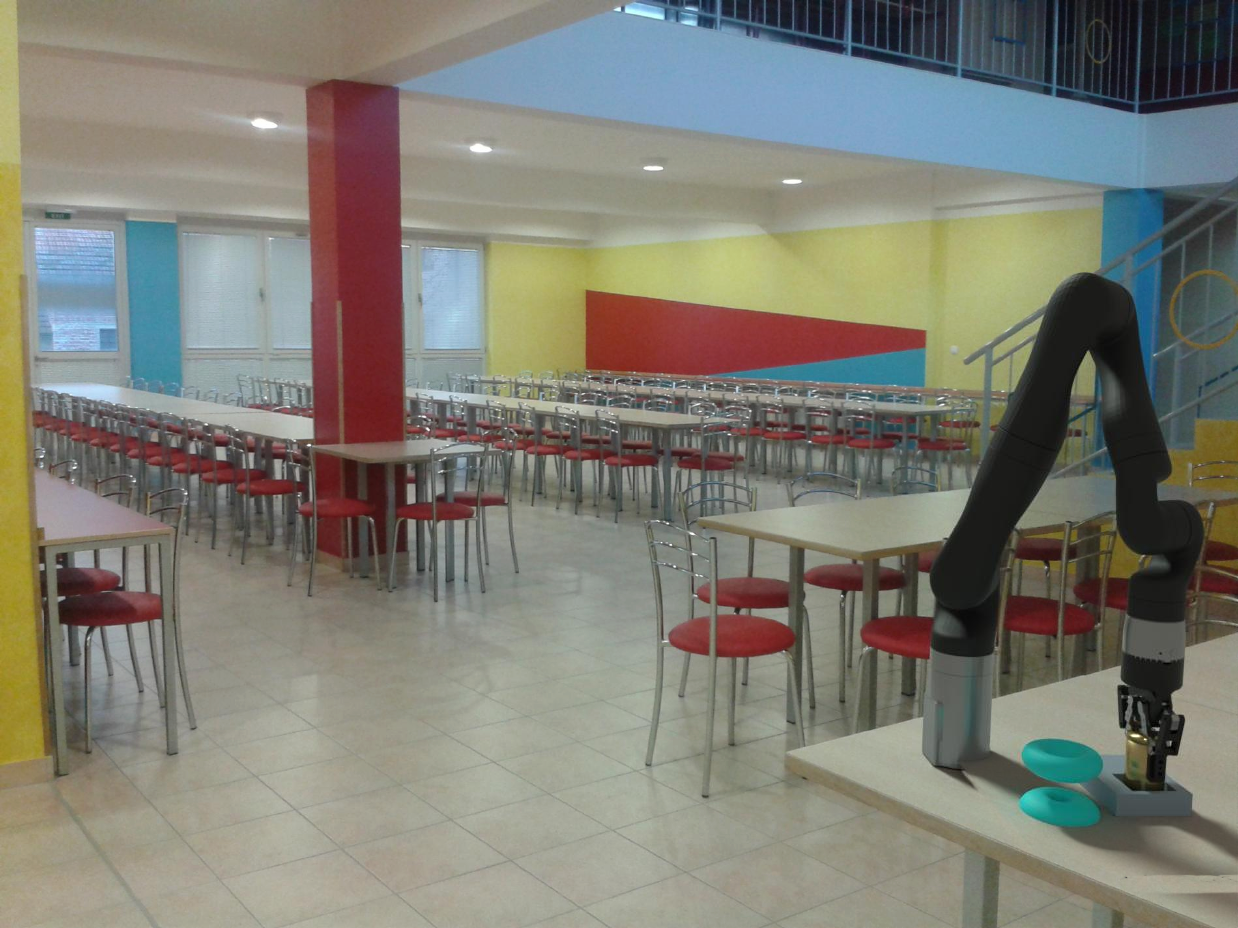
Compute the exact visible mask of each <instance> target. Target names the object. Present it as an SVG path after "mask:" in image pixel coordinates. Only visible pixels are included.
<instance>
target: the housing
mask: <svg viewBox="0 0 1238 928" xmlns="http://www.w3.org/2000/svg"><path fill="white" fill-rule="evenodd" d="M1099 755H1100V756H1101V758H1102V760H1103V769H1102V772H1101V773H1100V774H1099V775H1098V776H1097V777H1096V778H1095V779H1093V780H1091V781H1088V782H1083V783H1078V784H1079V785H1080V786H1081V787H1082V788H1083V789H1085V791H1087V792H1088V793H1089V794H1091V796H1092V797H1093V798H1095V799H1096V800H1097V801H1098V802H1099V803H1100V804H1101V805H1102V806H1104V808H1105V809H1107V810H1108V811H1109V812H1110V813H1111V814H1112V815H1114V816H1115V817H1117V818H1119V817H1123V818H1125V817H1126V818H1127V817H1134V818H1135V817H1146V818H1147V817H1151V818H1152V817H1154V818H1156V817H1162V818H1163V817H1165V818H1166V817H1170V818H1171V817H1172V818H1173V817H1176V818H1177V817H1178V818H1179V817H1181V818H1182V817H1184V818H1185V817H1188V818H1189V817H1192V810H1193V800H1194V799H1193V797H1194V794H1193V793H1192V792H1191V791H1189V790H1188V789H1186V788H1185V787H1184V786H1183V785H1181V784H1180V783H1179V782H1177V781H1176V780H1174V779H1173V778H1172V777H1170V776H1169V775H1168V774H1166V777H1165V791H1132V790H1130V789H1129V788H1128V787H1127V786H1126V785H1124V768H1125V754H1099Z"/></svg>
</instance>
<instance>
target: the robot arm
mask: <svg viewBox="0 0 1238 928" xmlns="http://www.w3.org/2000/svg"><path fill="white" fill-rule="evenodd" d="M1038 328H1039V329H1038V330H1037V331H1038V332H1037V334H1036V337H1035V341H1034V344H1033V346H1032V348H1031V352H1030V355H1029V356H1028V360H1027V362H1026V364H1025V367H1024V369H1023V371H1022V373H1021V375H1020V377H1019V380H1018V382H1017V384H1016V386H1015V388H1014V391H1013V393H1012V395H1011V397H1010V399H1009V402H1008V404H1007V407H1006V409H1005V410H1004V412H1003V415H1002V416H1001V418H1000V420H999V422H998V423H997V427H996V428H995V430H994V433H993V435H992V437H991V438H990V439H991V440H990V441H989V443H988V444H987V445H988V446H987V448H986V450H985V452H984V455H983V458H982V460H981V463H980V465H979V468H978V470H977V473H976V476H975V478H974V480H973V484H972V486H971V489H970V492H969V495H968V499H967V501H966V504H965V506H964V509H963V511H962V512H961V515H960V517H959V519H958V521H957V522H956V524H955V525H954V528H953V529H952V531H951V533H950V535H949V537H948V538H947V540H946V541H945V543H944V545H943V546H942V547H941V549H940V551H939V553H938V554H937V555H936V557H935V558H934V560H933V561H932V564H931V566H930V569H929V576H928V577H929V586H930V589H931V592H932V594H933V595H934V597H935V599H936V601H935V602H936V604H935V613H934V618H933V621H932V626H931V628H930V629H931V630H930V643H929V645H930V646H929V666H928V668H929V671H928V691H925V692H924V693H923V715H922V739H921V741H922V743H921V752H922V754H923V755H924V756H925V758H927V760H928V762H930V764H931V765H933V766H934V767H935V766H937V767H940V766H941V767H945V768H949V769H955V770H956V769H957V770H965V768H964V767H963V765H961V764H960V762H976V761H977V762H978V761H982V760H984V759H985V760H986V759H988V757H989V756H990V752H991V728H992V727H991V724H992V709H993V708H992V706H993V700H992V699H993V683H994V680H993V679H994V665H995V664H994V659H995V642H996V641H995V640H996V635H997V631H998V625H999V624H998V623H999V609H1000V607H999V606H1000V595H1001V594H1000V593H1001V592H1000V591H1001V569H1000V564H999V563H1000V561H1001V558H1002V556H1003V552H1004V550H1005V547H1006V545H1007V543H1008V541H1009V538H1010V536H1011V534H1012V533H1013V531H1014V529H1015V527H1016V526H1017V524H1018V523H1019V521H1020V520H1021V518H1022V517H1023V516H1024V514H1025V512H1026V511H1028V508H1029V507H1030V506H1031V504H1032V503H1033V501H1034V500H1035V498H1036V496H1037V495H1038V494H1039V492H1040V490H1042V487H1043V485H1044V484H1045V482H1046V481H1047V478H1048V476H1049V475H1050V473H1051V471H1052V469H1053V466H1054V465H1055V463H1056V461H1057V458H1058V456H1059V455H1060V452H1061V450H1062V448H1063V446H1064V444H1065V440H1066V437H1067V433H1068V428H1069V422H1070V421H1069V420H1070V413H1071V412H1070V411H1071V410H1070V409H1071V408H1070V407H1071V396H1072V390H1073V385H1074V381H1075V379H1076V376H1077V373H1078V371H1079V370H1080V367H1081V364H1082V363H1083V361H1084V359H1085V357H1086V355H1087V353H1088V352H1089V354H1090V357H1091V358H1092V360H1093V363H1094V365H1095V367H1096V371H1097V374H1098V378H1099V383H1100V384H1099V385H1100V389H1101V390H1100V392H1101V406H1100V407H1101V411H1100V412H1101V413H1100V415H1101V417H1100V418H1101V428H1102V429H1101V430H1102V435H1103V439H1104V440H1103V441H1104V443H1105V447H1106V450H1107V453H1108V457H1109V460H1110V463H1111V467H1112V469H1113V473H1114V476H1115V521H1116V522H1115V523H1116V528H1117V532H1118V534H1119V536H1120V538H1121V541H1122V542H1123V544H1124V545H1125V546H1126V547H1127V548H1128V549H1129V550H1130V551H1131V552H1133V553H1135V554H1137V555H1139V556H1150V559H1149V562H1148V564H1147V565H1146V566H1145V567H1142V568H1141V569H1140V570H1137V571H1136V572H1134V573H1132V574H1131V576H1130V578H1129V579H1128V585H1127V594H1126V595H1127V597H1126V611H1125V612H1126V615H1125V620H1124V625H1123V631H1122V645H1121V660H1120V676H1119V678H1120V680H1121V682H1123V683H1124V684H1117V687H1116V691H1117V692H1116V693H1117V711H1118V712H1117V713H1118V727H1119V728H1120V729H1121V730H1122V729H1124V735H1125V738H1126V737H1127V730H1129V729H1134V728H1140V727H1142V733H1143V735H1144V736H1145V737H1146V738H1147V745H1148V752H1149V754H1148V755H1147V770H1146V779H1147V780H1148V781H1149V782H1151V783H1162V782H1164V781H1165V775H1166V773H1167V762H1166V760H1167V759H1168V757H1170V756H1173V757H1177V756H1178V755H1179V750H1180V746H1181V743H1182V742H1181V741H1182V737H1183V735H1184V734H1183V733H1184V730H1185V724H1186V717H1185V714H1182V713H1181V714H1180V713H1179V714H1176V712H1175V711H1174V710H1173V709H1174V705H1173V701H1172V700H1173V699H1172V695H1173V693H1174V692H1177V691H1179V690H1181V688H1182V687H1183V685H1184V675H1185V674H1184V671H1185V660H1186V659H1185V657H1186V644H1187V643H1186V641H1187V640H1186V639H1187V634H1186V613H1187V612H1186V611H1187V593H1188V592H1187V590H1188V587H1189V584H1190V582H1191V579H1192V577H1193V574H1194V572H1195V568H1196V565H1197V562H1198V560H1199V557H1200V554H1201V551H1202V548H1203V544H1204V539H1205V526H1204V521H1203V518H1202V516H1201V514H1200V512H1199V510H1198V509H1197V507H1196V506H1194V505H1193V504H1192V503H1190V502H1189V501H1187V500H1181V499H1167V500H1164V499H1163V500H1159V498H1158V484H1161V483H1162V482H1165V481H1166V480H1167V479H1169V477H1170V476H1171V475H1172V473H1173V466H1172V460H1171V457H1170V454H1169V451H1168V448H1167V445H1166V442H1165V438H1164V435H1163V433H1162V429H1161V426H1160V422H1159V419H1158V416H1157V412H1156V409H1155V406H1154V404H1153V400H1152V397H1151V391H1150V387H1149V384H1148V379H1147V374H1146V368H1145V364H1144V363H1145V362H1144V358H1143V351H1142V346H1141V344H1142V343H1141V337H1140V328H1139V320H1138V314H1137V309H1136V303H1135V301H1134V298H1133V296H1132V294H1131V292H1130V291H1129V290H1128V289H1127V288H1125V286H1123V285H1122V284H1120V283H1118V282H1116V281H1113V280H1111V279H1109V278H1106V277H1104V276H1102V275H1099V274H1097V273H1093V272H1087V271H1086V272H1085V271H1084V272H1077V273H1075V274H1071V275H1070V276H1068V277H1067V278H1065V279H1063V281H1062V282H1061V283H1060V284H1059V285H1058V286H1057V287H1056V289H1054V291H1053V293H1052V294H1051V297H1050V299H1049V300H1048V303H1047V306H1046V309H1045V311H1044V314H1043V317H1042V320H1041V322H1040V326H1039V327H1038ZM1151 728H1154V729H1157V728H1158V729H1159V730H1156V731H1153V730H1151ZM1156 736H1158V738H1157V742H1156V746H1155V737H1156ZM1170 742H1171V743H1170ZM1167 761H1168V760H1167Z"/></svg>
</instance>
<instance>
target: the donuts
mask: <svg viewBox="0 0 1238 928" xmlns="http://www.w3.org/2000/svg"><path fill="white" fill-rule="evenodd" d="M1100 755H1101V754H1099V752H1098V751H1096V749H1093V748H1092V747H1090V746H1088V745H1086V744H1083V743H1080V742H1078V741H1077V742H1076V741H1073V740H1068V739H1061V738H1039V739H1035V740H1032V741H1030V742H1028V743H1026V744H1025V746H1024V747H1023V748H1022V751H1021V759H1022V762H1023V764H1024V765H1025V767H1026V768H1027V769H1028V770H1029V771H1030V772H1032V774H1034V775H1036V776H1038V777H1040V778H1043V779H1045V780H1048V781H1051V782H1056V783H1061V784H1079V783H1083V782H1088V781H1091V780H1093V779H1095V778H1096V777H1097V776H1098V775H1099V774H1100V773H1101V772H1102V769H1103V760H1102V758H1101V756H1100ZM1018 807H1019V809H1020V810H1021V811H1022V812H1023V814H1025V815H1026V816H1028V817H1031V818H1032V819H1034V820H1037V821H1040V822H1041V823H1046V824H1049V825H1050V824H1051V825H1054V826H1059V827H1060V826H1061V827H1071V828H1077V827H1079V828H1080V827H1088V826H1092V825H1095V824H1097V823H1098V822H1100V819H1101V813H1100V810H1099V807H1098V806H1097V804H1096V803H1095V802H1094V801H1093V800H1091V799H1090V798H1089V797H1088V796H1086V795H1084V794H1082V793H1081V792H1078V791H1076V790H1072V789H1069V788H1064V787H1056V786H1041V787H1037V788H1033V789H1030V790H1029V791H1026V792H1025V793H1024V794H1023V795H1022V796H1021V798H1020V800H1019V805H1018Z"/></svg>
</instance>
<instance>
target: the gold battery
mask: <svg viewBox="0 0 1238 928" xmlns="http://www.w3.org/2000/svg"><path fill="white" fill-rule="evenodd" d="M1151 730H1153V731H1157V728H1151ZM1125 738H1126V739H1125V742H1126V743H1125V752H1124V753H1125V754H1124V755H1125V768H1124V785H1126V786H1127V787H1128V788H1129V789H1130V790H1132V791H1165V781H1164V782H1162V783H1151V782H1149V781H1148V780H1147V779H1146V770H1147V755H1148V754H1149V752H1148V745H1147V738H1146V737H1145V736H1144V735H1143V733H1142V727H1140V728H1134V729H1129V730H1127V737H1126V736H1125ZM1157 738H1158V736H1156V737H1155V746H1156V742H1157ZM1167 761H1168V760H1166V763H1167ZM1165 777H1166V775H1165Z"/></svg>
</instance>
